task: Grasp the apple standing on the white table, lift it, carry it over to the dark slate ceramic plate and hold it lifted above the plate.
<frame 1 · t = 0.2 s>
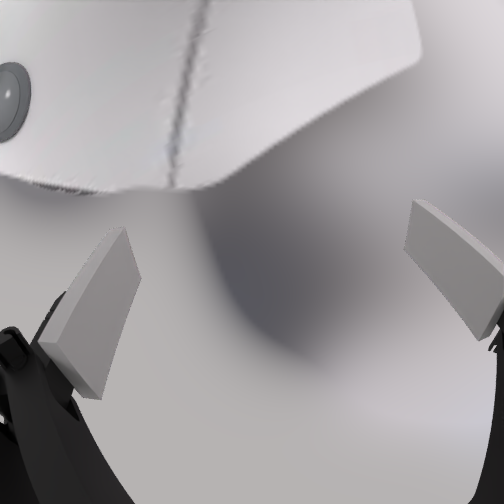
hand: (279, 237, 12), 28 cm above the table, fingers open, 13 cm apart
slate plate: (4, 101, 26), on the table
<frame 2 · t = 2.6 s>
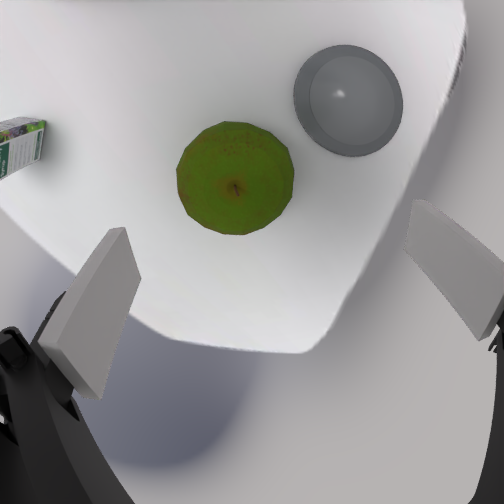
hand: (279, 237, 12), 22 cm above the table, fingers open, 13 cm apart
syrup box: (29, 137, 26), on the table
slate plate: (350, 100, 28), on the table
apple: (233, 162, 32), on the table
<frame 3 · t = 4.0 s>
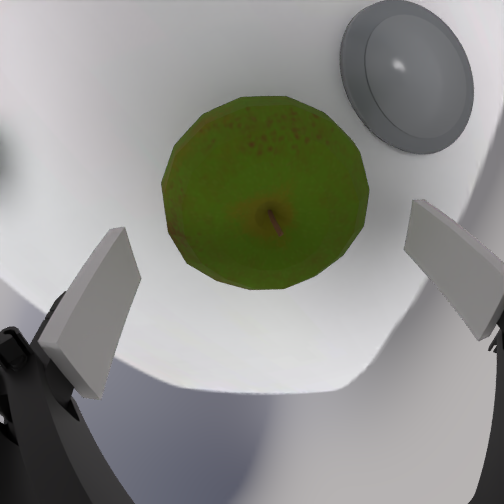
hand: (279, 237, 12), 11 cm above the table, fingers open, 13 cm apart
slate plate: (413, 75, 17), on the table
apple: (254, 164, 21), on the table
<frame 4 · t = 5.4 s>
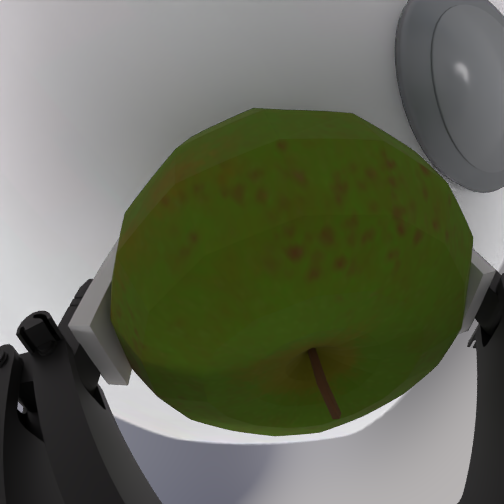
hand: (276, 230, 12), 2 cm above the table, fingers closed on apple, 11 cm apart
slate plate: (478, 86, 10), on the table
apple: (269, 209, 14), on the table, touching gripper
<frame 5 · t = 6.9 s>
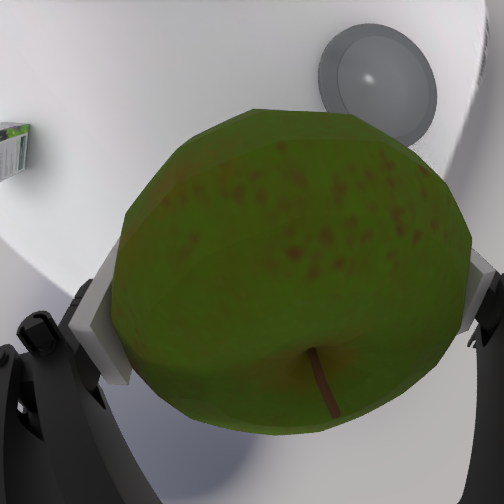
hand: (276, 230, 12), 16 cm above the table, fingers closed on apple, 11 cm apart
syrup box: (13, 144, 22), on the table
slate plate: (381, 86, 23), on the table
apple: (269, 209, 14), point 14 cm above the table, touching gripper
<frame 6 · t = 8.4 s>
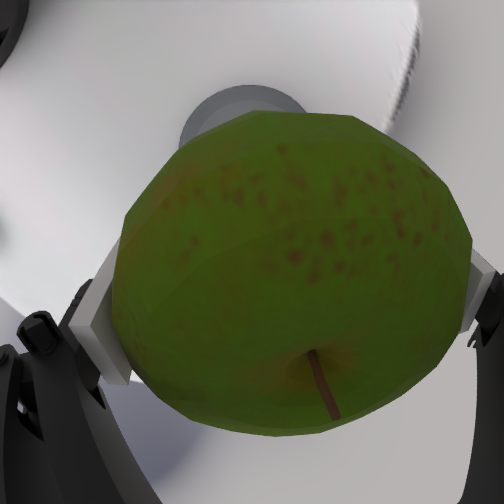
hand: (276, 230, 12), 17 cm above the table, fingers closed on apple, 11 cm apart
slate plate: (249, 152, 27), on the table
apple: (269, 210, 14), point 15 cm above the table, touching gripper
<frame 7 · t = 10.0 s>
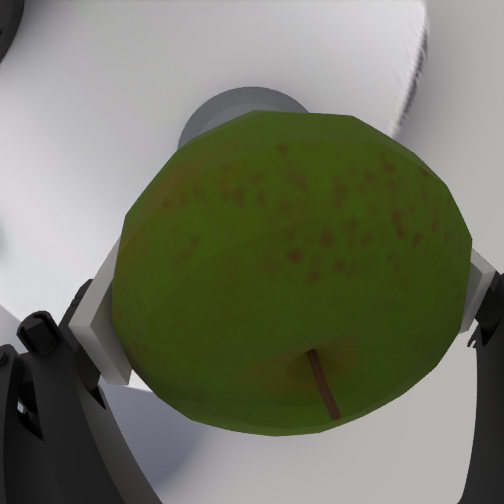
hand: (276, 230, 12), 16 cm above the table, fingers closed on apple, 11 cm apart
slate plate: (251, 157, 26), on the table
apple: (269, 210, 14), point 14 cm above the table, touching gripper
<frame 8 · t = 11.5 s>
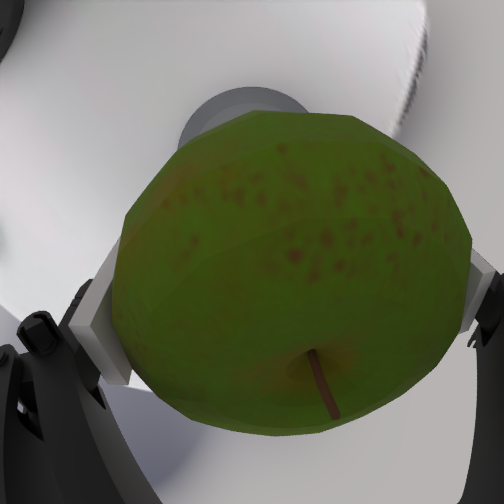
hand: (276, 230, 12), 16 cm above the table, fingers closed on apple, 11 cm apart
slate plate: (251, 157, 26), on the table
apple: (269, 210, 14), point 14 cm above the table, touching gripper
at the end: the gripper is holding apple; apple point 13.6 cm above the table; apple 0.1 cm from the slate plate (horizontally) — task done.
